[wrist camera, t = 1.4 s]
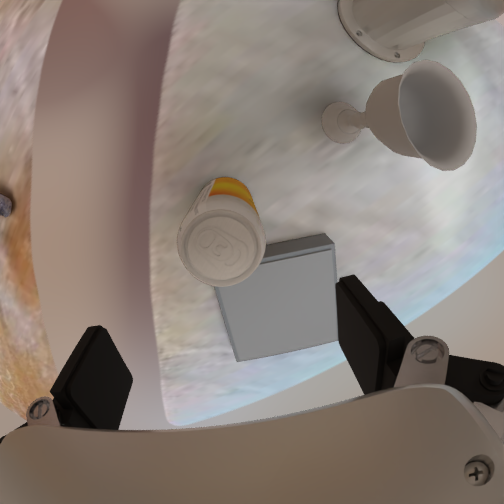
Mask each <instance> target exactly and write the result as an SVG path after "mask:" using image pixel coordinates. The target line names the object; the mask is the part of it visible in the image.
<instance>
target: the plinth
mask: <svg viewBox="0 0 504 504" xmlns="http://www.w3.org/2000/svg"><path fill="white" fill-rule="evenodd" d="M336 283H337V270H336V256H335V244H334V242H333V241H332V240H331V239H330V238H329V237H328V236H327V235H326V234H320V235H315V236H310V237H305V238H300V239H295V240H290V241H285V242H280V243H275V244H270V245H266V248H265V253H264V256H263V259H262V261H261V263H260V264H259V266H258V267H257V268H256V270H255V271H254V272H253V273H252V274H251V275H250V276H249V277H248V278H246V279H245V280H243V281H242V282H240V283H237V284H235V285H231V286H225V287H218V286H214V287H215V291H216V294H217V298H218V301H219V305H220V308H221V312H222V315H223V318H224V322H225V325H226V329H227V332H228V335H229V338H230V342H231V345H232V348H233V352H234V355H235V358H236V361H237V362H241V361H247V360H252V359H258V358H263V357H268V356H273V355H278V354H283V353H288V352H292V351H297V350H301V349H306V348H310V347H314V346H318V345H322V344H326V343H330V342H334V341H338V324H337V305H336V290H335V284H336Z"/></svg>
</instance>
